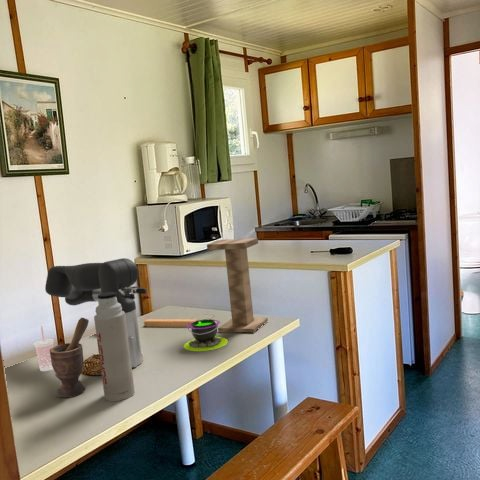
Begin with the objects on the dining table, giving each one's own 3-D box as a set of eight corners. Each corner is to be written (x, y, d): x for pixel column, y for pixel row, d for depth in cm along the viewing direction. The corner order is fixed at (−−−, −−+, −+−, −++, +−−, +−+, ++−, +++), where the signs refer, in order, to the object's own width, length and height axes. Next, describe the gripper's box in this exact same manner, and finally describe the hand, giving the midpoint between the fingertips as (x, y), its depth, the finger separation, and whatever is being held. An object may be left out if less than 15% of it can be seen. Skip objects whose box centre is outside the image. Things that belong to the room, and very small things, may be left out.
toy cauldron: (176, 351, 178) (172, 319, 177) (193, 337, 192) (190, 307, 191) (218, 351, 173) (215, 318, 172) (233, 337, 187) (230, 306, 186)
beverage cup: (61, 366, 174) (55, 324, 172) (45, 373, 169) (39, 329, 167) (49, 364, 177) (43, 322, 175) (33, 370, 172) (27, 328, 170)
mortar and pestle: (77, 381, 158) (68, 315, 156) (101, 383, 155) (92, 316, 153) (49, 397, 148) (39, 327, 146) (74, 400, 144) (64, 328, 142)
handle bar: (144, 327, 213) (143, 321, 212) (148, 325, 216) (147, 319, 215) (195, 327, 205) (194, 321, 205) (198, 325, 208) (197, 319, 208)
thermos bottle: (105, 403, 140) (91, 298, 137) (103, 392, 148) (90, 293, 144) (136, 397, 142) (123, 293, 139) (133, 386, 150) (120, 288, 147)
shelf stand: (214, 331, 195) (205, 245, 192) (230, 321, 208) (222, 239, 204) (254, 333, 189) (245, 243, 186) (267, 321, 202) (260, 237, 198)
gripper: (94, 288, 214) (129, 289, 208) (115, 280, 227) (148, 280, 221) (97, 306, 215) (131, 307, 209) (117, 297, 228) (150, 298, 222)
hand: (140, 293), depth 215 cm, fingers open, 8 cm apart
